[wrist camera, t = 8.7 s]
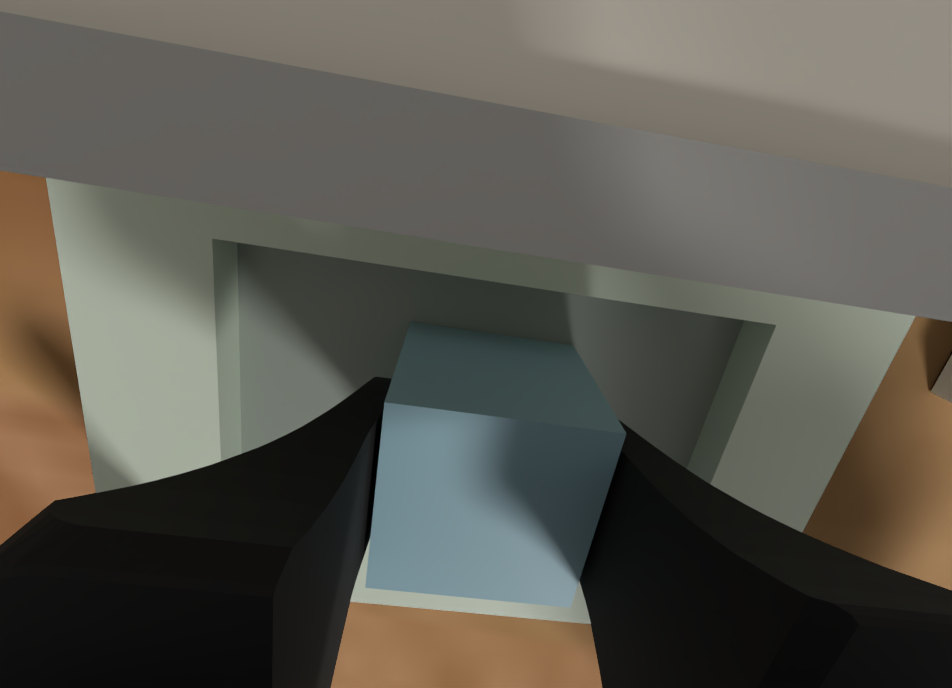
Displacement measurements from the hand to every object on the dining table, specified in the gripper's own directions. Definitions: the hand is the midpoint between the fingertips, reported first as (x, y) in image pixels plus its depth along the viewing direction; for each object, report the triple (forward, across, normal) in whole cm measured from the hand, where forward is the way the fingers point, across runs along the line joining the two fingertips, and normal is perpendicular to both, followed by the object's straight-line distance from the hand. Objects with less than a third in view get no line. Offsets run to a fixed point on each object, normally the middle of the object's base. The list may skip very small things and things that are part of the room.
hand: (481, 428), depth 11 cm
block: (+1, 0, 0) cm, 1 cm away
